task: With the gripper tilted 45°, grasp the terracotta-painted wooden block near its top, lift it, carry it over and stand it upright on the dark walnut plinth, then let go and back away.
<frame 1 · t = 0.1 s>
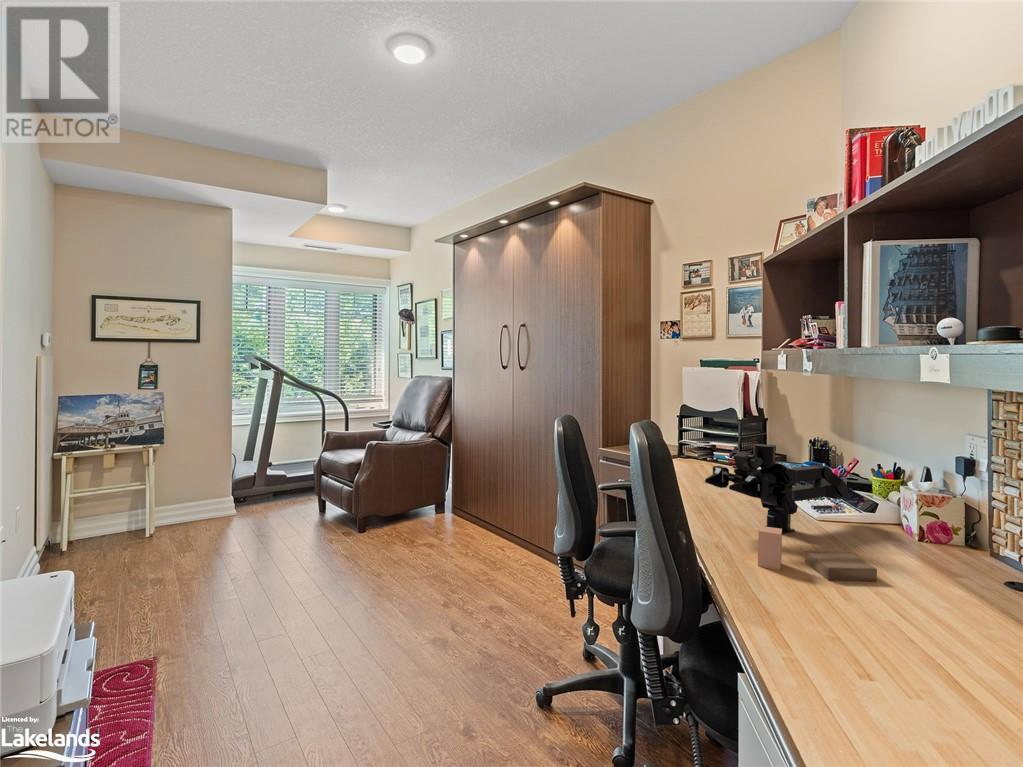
hand: (717, 484, 152), 16 cm above the table, tool horizontal, fingers open, 9 cm apart
terracotta block: (769, 564, 134), on the table
walnut plinth: (839, 571, 130), on the table
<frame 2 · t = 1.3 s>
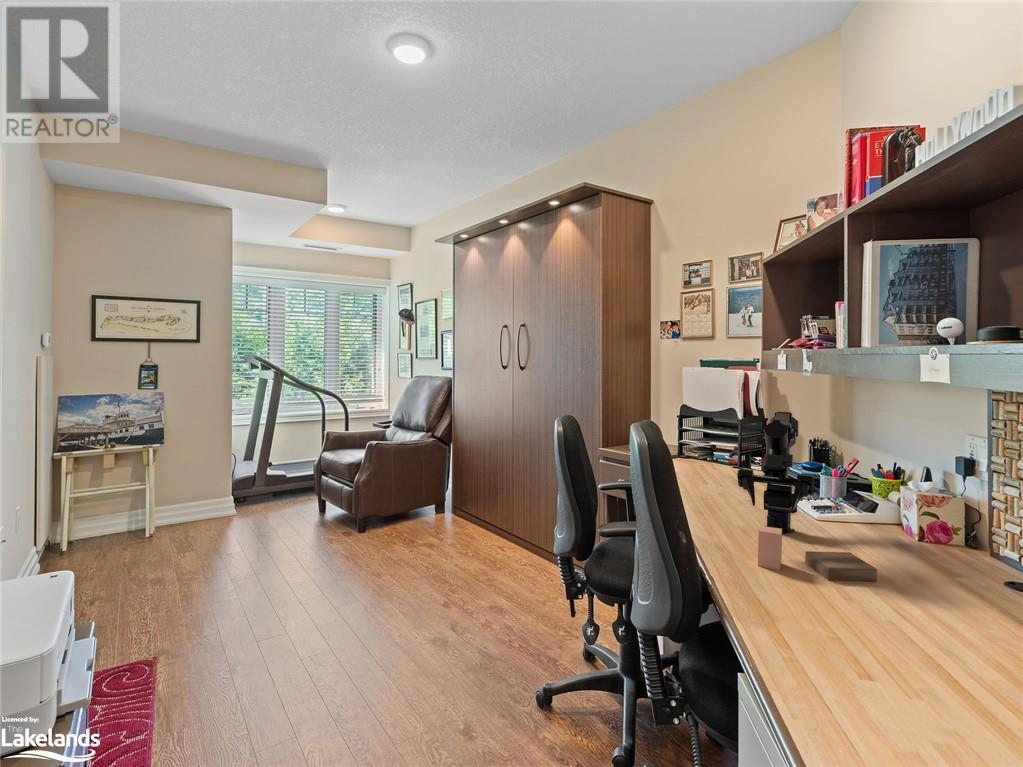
hand: (772, 507, 140), 13 cm above the table, tool tilted 45°, fingers open, 9 cm apart
nothing on the table moved.
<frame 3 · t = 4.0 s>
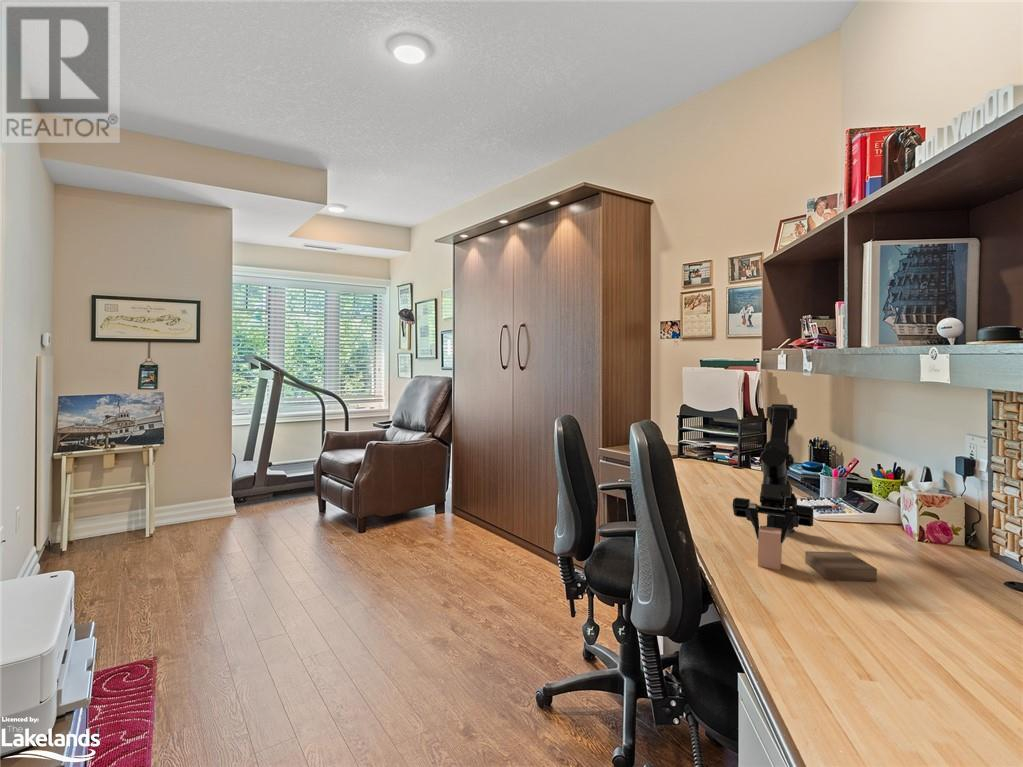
hand: (769, 540, 133), 7 cm above the table, tool tilted 45°, fingers closed on terracotta block, 5 cm apart
terracotta block: (769, 564, 134), on the table, touching gripper
when the fingers open (10 cm above the table, at t = 7.4 s): terracotta block stays where it is, resting on walnut plinth.
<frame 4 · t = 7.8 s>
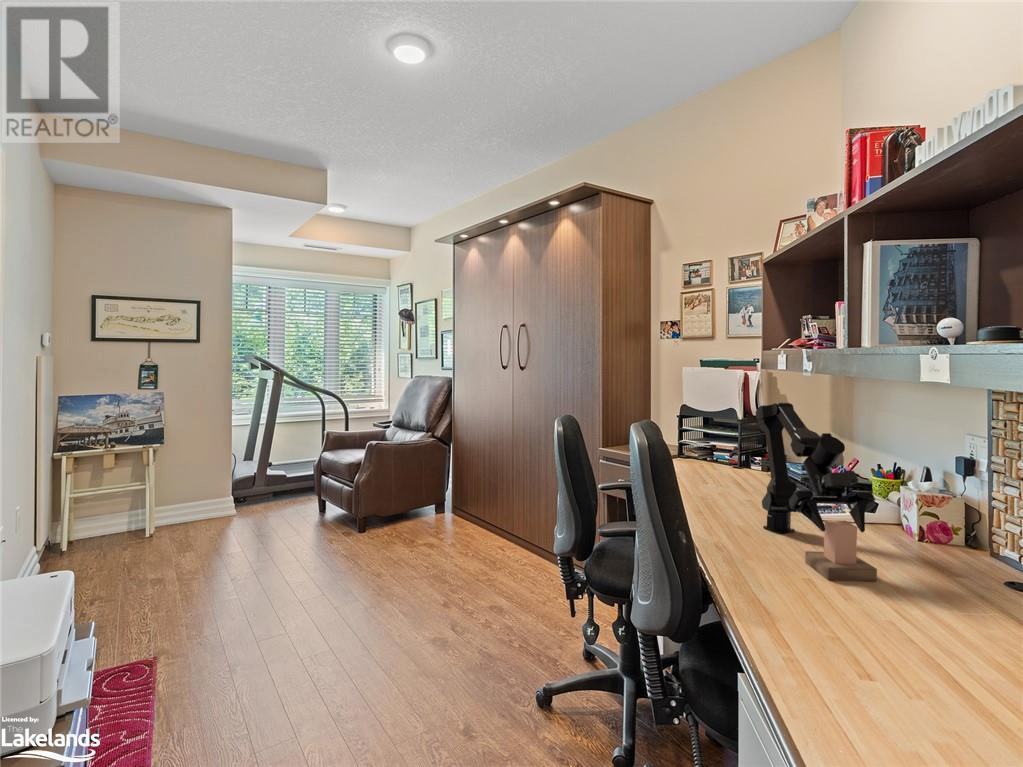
hand: (843, 531, 128), 11 cm above the table, tool tilted 45°, fingers open, 9 cm apart
terracotta block: (839, 559, 129), point 3 cm above the table, touching walnut plinth
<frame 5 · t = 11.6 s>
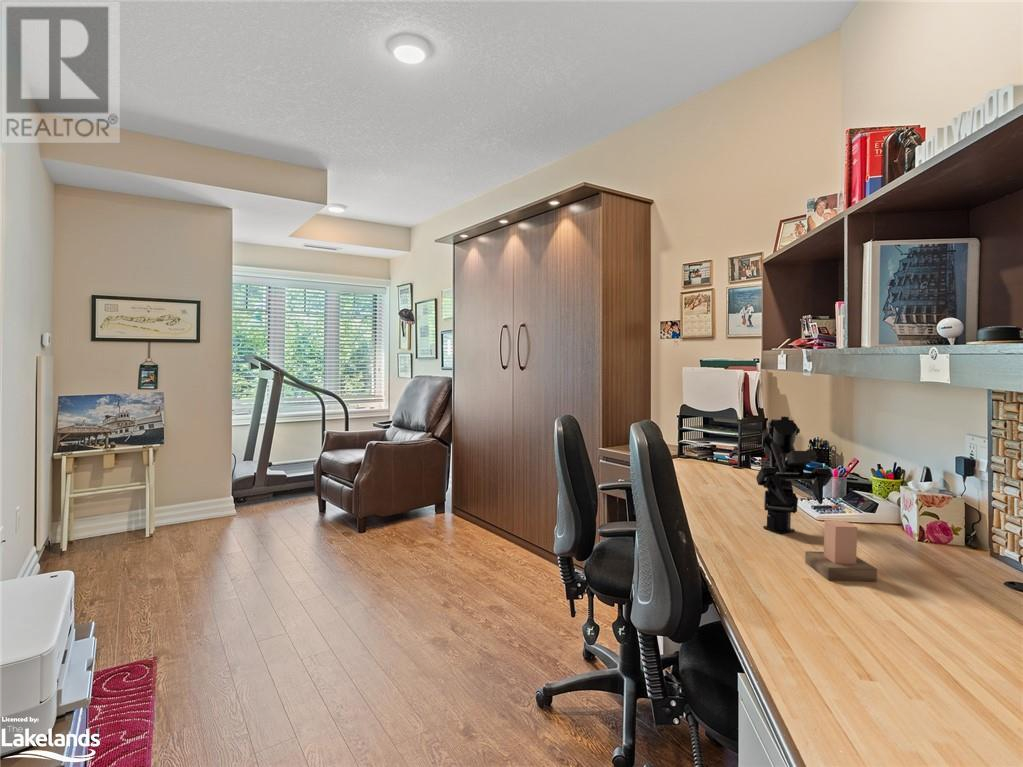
hand: (803, 503, 142), 14 cm above the table, tool tilted 45°, fingers open, 9 cm apart
nothing on the table moved.
at the end: terracotta block inside the target area on the walnut plinth (0.0 cm from its centre), point 3.0 cm above the walnut plinth's base; terracotta block tilted 0°; the gripper is holding nothing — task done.
